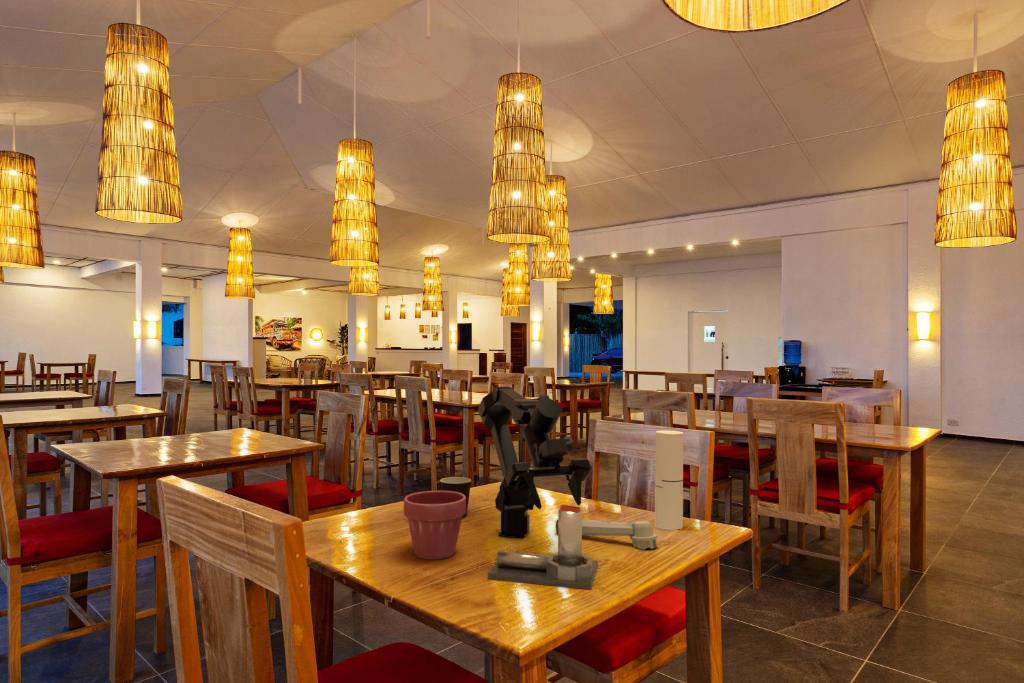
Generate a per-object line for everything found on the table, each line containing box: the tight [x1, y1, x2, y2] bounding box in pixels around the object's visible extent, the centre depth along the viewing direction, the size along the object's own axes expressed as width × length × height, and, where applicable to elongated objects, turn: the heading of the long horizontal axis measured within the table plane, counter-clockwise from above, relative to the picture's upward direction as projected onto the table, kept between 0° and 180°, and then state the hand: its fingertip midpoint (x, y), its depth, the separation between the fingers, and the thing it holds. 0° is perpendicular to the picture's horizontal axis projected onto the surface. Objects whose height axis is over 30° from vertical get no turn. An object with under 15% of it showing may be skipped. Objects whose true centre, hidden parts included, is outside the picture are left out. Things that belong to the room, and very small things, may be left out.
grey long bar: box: [555, 519, 659, 550], centre depth 148 cm, size 5×7×25 cm
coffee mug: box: [439, 476, 472, 519], centre depth 170 cm, size 12×9×10 cm
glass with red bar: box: [556, 504, 583, 567], centre depth 123 cm, size 5×5×13 cm
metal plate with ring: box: [487, 550, 599, 590], centre depth 126 cm, size 21×13×4 cm, turn 76°
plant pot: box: [403, 490, 466, 560], centre depth 138 cm, size 14×14×13 cm
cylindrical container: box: [654, 429, 684, 531], centre depth 161 cm, size 7×7×25 cm
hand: (560, 506), depth 128 cm, fingers open, 9 cm apart
